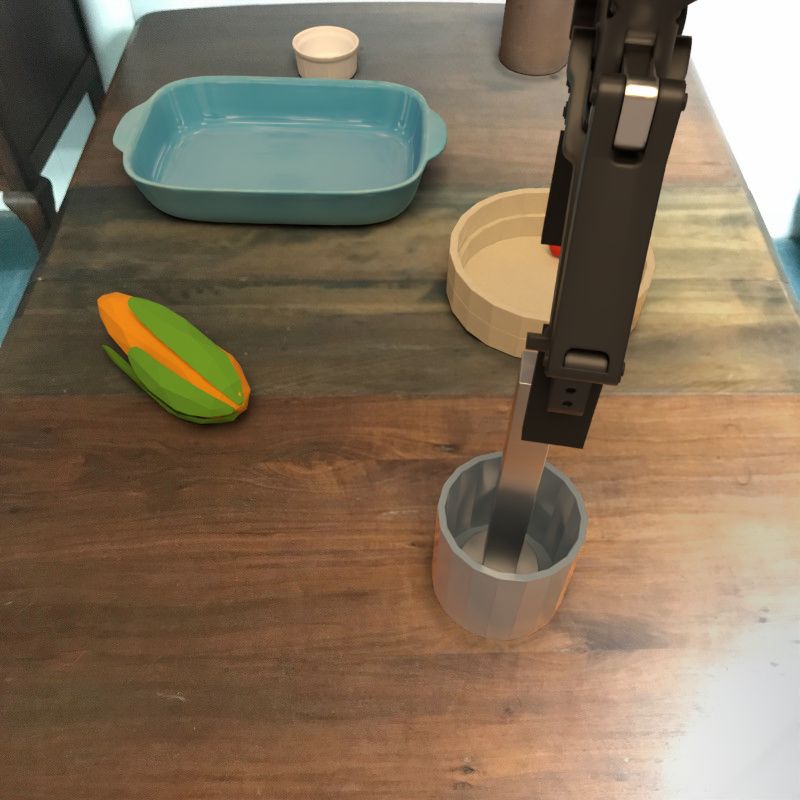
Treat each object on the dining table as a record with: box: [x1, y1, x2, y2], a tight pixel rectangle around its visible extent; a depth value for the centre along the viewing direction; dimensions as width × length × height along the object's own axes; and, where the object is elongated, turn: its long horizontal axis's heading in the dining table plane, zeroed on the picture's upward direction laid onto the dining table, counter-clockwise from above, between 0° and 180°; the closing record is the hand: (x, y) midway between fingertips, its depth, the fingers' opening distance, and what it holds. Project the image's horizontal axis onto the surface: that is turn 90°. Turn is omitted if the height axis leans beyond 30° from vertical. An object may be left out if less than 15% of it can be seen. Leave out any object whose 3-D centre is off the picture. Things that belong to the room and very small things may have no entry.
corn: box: [96, 291, 252, 425], centre depth 71 cm, size 7×8×20 cm
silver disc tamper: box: [461, 351, 551, 575], centre depth 51 cm, size 6×6×24 cm
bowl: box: [445, 187, 656, 359], centre depth 79 cm, size 20×20×6 cm
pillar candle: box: [498, 0, 575, 76], centre depth 106 cm, size 10×10×15 cm
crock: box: [431, 450, 589, 641], centre depth 57 cm, size 10×10×10 cm
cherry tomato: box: [549, 245, 561, 257], centre depth 83 cm, size 2×2×2 cm
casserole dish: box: [112, 75, 448, 226], centre depth 90 cm, size 37×22×7 cm, turn 87°
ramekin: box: [291, 25, 360, 79], centre depth 107 cm, size 9×9×4 cm
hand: (559, 330), depth 39 cm, fingers open, 13 cm apart
